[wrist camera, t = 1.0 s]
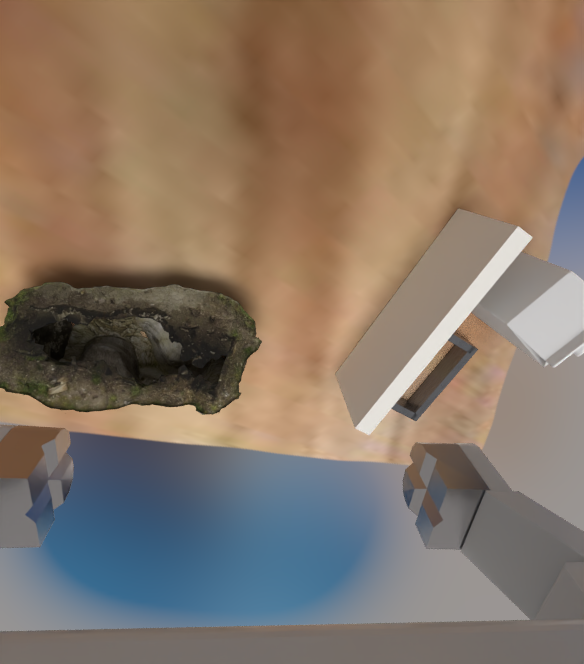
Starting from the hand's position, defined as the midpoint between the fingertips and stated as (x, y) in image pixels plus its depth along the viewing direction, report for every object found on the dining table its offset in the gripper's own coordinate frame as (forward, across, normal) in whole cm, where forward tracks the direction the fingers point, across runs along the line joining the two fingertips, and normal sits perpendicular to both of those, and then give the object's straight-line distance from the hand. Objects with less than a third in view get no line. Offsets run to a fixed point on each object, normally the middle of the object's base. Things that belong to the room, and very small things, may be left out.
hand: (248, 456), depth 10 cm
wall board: (+40, -20, +9) cm, 46 cm away
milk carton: (+41, -30, +5) cm, 50 cm away
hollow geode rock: (+41, +12, +15) cm, 45 cm away
